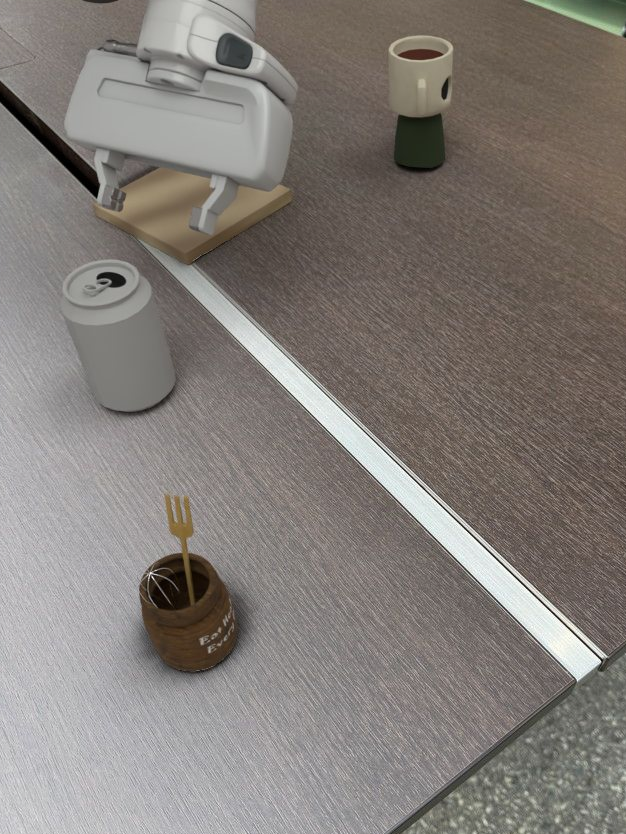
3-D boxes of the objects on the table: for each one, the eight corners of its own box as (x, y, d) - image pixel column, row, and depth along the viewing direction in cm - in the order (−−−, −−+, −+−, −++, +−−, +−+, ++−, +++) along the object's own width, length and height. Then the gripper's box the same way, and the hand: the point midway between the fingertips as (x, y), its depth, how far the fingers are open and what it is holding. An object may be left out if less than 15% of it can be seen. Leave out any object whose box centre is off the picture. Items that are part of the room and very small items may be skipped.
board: (95, 215, 96) (91, 203, 95) (199, 159, 104) (197, 147, 103) (188, 265, 89) (185, 253, 88) (292, 201, 97) (291, 189, 96)
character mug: (451, 183, 98) (456, 68, 88) (390, 185, 99) (388, 70, 89) (446, 138, 105) (450, 26, 95) (389, 139, 106) (388, 28, 96)
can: (194, 381, 78) (166, 270, 68) (137, 429, 74) (98, 319, 64) (136, 352, 80) (101, 242, 71) (78, 398, 76) (32, 288, 67)
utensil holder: (144, 671, 58) (95, 571, 49) (172, 595, 62) (131, 490, 53) (227, 681, 58) (192, 582, 48) (249, 604, 62) (221, 499, 52)
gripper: (68, 18, 70) (31, 184, 72) (283, 55, 64) (237, 236, 66) (115, 52, 76) (80, 206, 78) (316, 89, 70) (272, 255, 72)
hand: (153, 220), depth 72 cm, fingers open, 8 cm apart
